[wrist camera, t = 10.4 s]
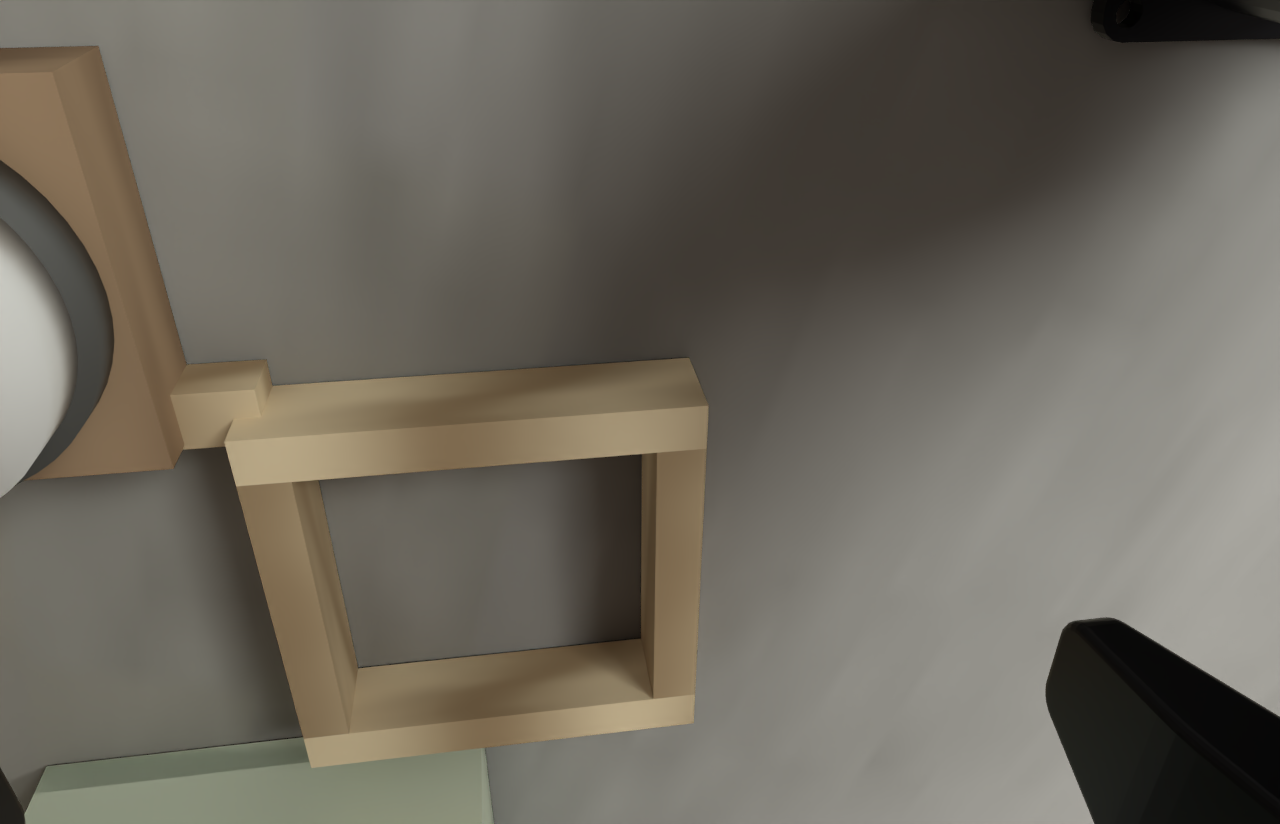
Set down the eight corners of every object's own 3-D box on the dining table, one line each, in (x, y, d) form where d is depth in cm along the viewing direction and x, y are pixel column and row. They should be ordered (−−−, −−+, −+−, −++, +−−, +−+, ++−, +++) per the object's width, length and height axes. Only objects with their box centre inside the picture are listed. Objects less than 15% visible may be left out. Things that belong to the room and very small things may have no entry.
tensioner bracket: (699, 32, 17) (756, 82, 13) (678, 662, 25) (710, 793, 21) (-386, 57, 15) (-644, 125, 11) (-24, 739, 23) (-111, 897, 19)
